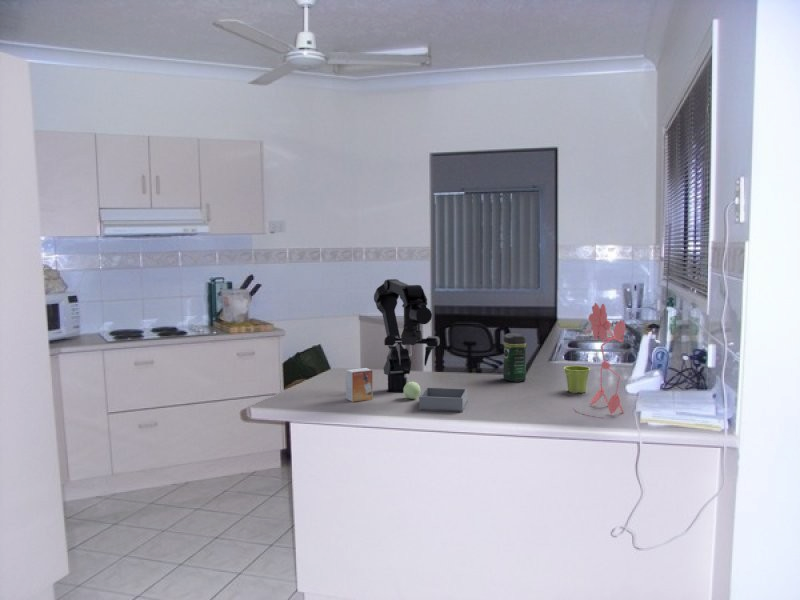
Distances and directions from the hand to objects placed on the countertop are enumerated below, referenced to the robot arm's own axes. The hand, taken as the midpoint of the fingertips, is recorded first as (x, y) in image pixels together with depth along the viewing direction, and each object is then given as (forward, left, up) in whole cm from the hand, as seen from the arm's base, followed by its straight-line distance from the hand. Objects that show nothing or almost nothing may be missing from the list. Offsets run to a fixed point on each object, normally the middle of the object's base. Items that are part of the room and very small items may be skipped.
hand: (412, 365), depth 235 cm
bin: (+12, -9, -12) cm, 19 cm away
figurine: (+62, -6, -12) cm, 63 cm away
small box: (-18, -4, -12) cm, 22 cm away
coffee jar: (+34, +38, -12) cm, 52 cm away
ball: (0, 0, -12) cm, 12 cm away
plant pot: (+57, +21, -12) cm, 62 cm away
